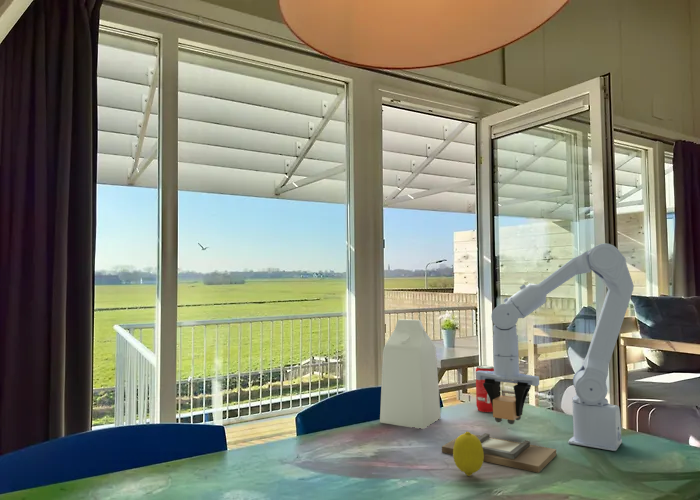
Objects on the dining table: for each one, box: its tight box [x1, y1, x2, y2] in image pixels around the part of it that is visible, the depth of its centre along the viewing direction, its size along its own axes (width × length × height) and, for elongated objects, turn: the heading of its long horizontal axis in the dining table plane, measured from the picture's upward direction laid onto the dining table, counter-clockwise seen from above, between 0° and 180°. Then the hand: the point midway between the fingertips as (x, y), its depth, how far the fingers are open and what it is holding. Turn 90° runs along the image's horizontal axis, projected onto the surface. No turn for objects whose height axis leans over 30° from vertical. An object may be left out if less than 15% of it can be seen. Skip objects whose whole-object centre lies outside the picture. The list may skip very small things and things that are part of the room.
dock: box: [441, 433, 557, 473], centre depth 106 cm, size 20×12×2 cm, turn 53°
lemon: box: [452, 431, 484, 477], centre depth 95 cm, size 6×6×8 cm
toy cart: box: [492, 389, 522, 425], centre depth 120 cm, size 6×5×6 cm
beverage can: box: [475, 365, 494, 413], centre depth 143 cm, size 5×5×12 cm
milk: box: [379, 318, 441, 430], centre depth 134 cm, size 12×12×26 cm
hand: (507, 413), depth 120 cm, fingers closed on toy cart, 5 cm apart
